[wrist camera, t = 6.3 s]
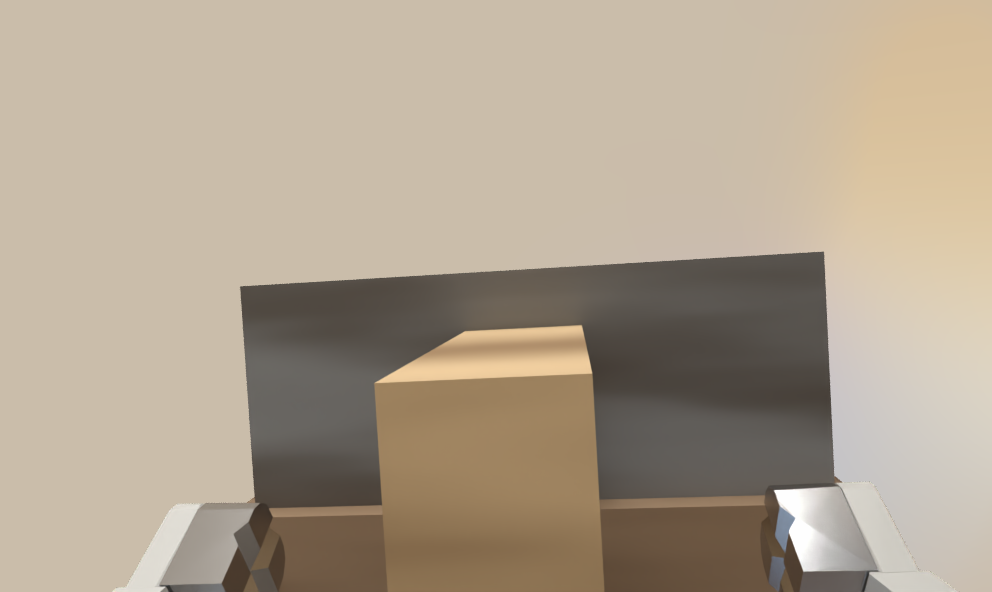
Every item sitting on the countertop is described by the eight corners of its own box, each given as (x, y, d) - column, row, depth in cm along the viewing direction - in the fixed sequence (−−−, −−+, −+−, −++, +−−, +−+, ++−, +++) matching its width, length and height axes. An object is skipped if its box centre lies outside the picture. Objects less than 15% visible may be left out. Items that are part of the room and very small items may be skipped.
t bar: (303, 472, 23) (290, 283, 23) (791, 457, 21) (782, 254, 21) (0, 700, 11) (-32, 299, 11) (1086, 703, 9) (1068, 232, 9)
